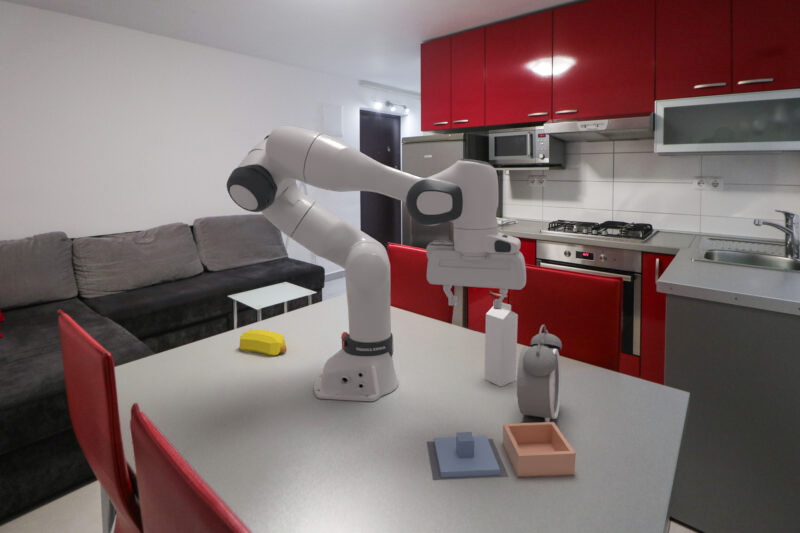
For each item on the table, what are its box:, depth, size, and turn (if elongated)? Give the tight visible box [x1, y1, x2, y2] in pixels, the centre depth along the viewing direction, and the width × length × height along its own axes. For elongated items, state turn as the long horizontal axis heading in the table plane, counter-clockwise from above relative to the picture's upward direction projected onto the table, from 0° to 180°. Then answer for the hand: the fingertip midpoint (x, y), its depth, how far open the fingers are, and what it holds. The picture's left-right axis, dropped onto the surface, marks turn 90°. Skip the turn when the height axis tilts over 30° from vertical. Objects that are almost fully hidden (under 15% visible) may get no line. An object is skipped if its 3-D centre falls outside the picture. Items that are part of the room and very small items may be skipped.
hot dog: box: [239, 328, 287, 357], centre depth 145 cm, size 18×7×8 cm
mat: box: [426, 438, 509, 481], centre depth 89 cm, size 14×12×1 cm
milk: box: [484, 300, 519, 387], centre depth 120 cm, size 6×6×22 cm
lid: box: [433, 431, 500, 478], centre depth 88 cm, size 11×11×5 cm
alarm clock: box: [516, 324, 563, 422], centre depth 102 cm, size 16×9×22 cm, turn 154°
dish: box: [502, 421, 577, 478], centre depth 88 cm, size 11×11×5 cm
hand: (474, 306), depth 93 cm, fingers open, 8 cm apart
